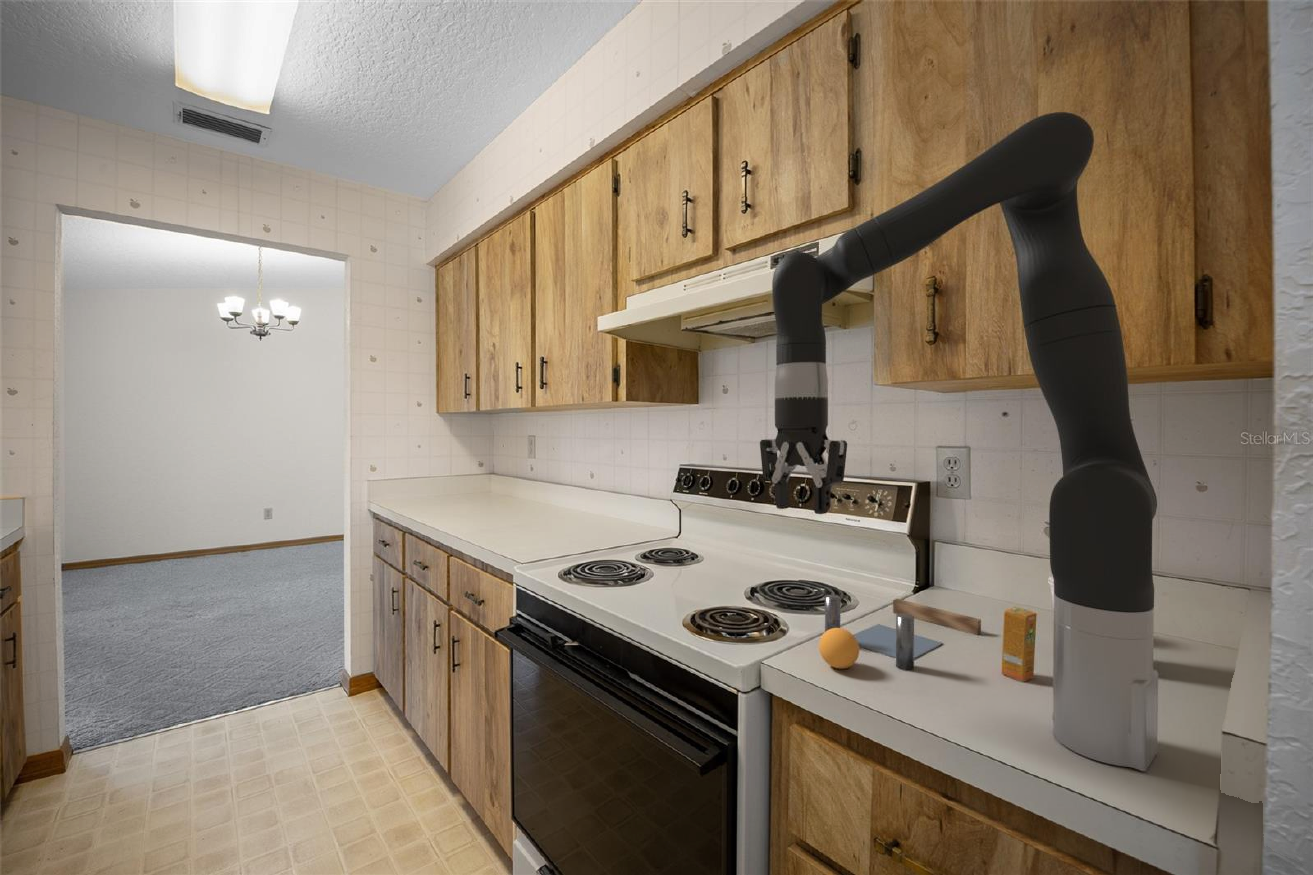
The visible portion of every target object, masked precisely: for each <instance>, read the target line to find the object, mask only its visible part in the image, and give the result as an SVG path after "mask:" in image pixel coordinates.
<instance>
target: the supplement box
mask: <svg viewBox="0 0 1313 875" xmlns="http://www.w3.org/2000/svg"><path fill="white" fill-rule="evenodd" d="M1037 615H1038V614H1037V613H1036V612H1034V611H1031V610H1028V609H1026V608H1021V607H1018V606H1013V607H1011V608H1007V609H1005V610H1004V612H1003V627H1002V628H1003V630H1002V646H1001V647H1002V651H1001V653H1002V654H1001V675H1003V676H1005V677H1008V678H1011V679H1013V680H1017V681H1019V682H1023V683H1024V682H1026V681H1028V680H1031V679H1033V678H1034V671H1035V670H1034V668H1035V651H1036V631H1037Z"/></svg>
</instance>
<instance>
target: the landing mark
mask: <svg viewBox="0 0 1313 875" xmlns="http://www.w3.org/2000/svg"><path fill="white" fill-rule="evenodd" d="M852 635H853V636H854V637H855V638H856V640H857V642H858V645H859V647H861V648H863V649H864V648H865V649H867V650H870V651H872V652H873V651H874V652H875V653H878V654H882V655H885V656H888V657H891V658H893V659H896V628H893V627H890V626H887V625H882V624H879V623H877V624H876V625H873V626H871V627H869V628H866V629H863V630H861V631H859V632H856V633H854V634H853V633H852ZM943 644H944V642H941V641H938V640H935V639H932V638H931V639H930V638H927V637H924V636H921V635H917V634H914V660H915V659H917V658H920V657H921V656H924V655H925V654H926V653H928V652H930V651H932V650H935V649H936V648H938V647H940V646H942V645H943Z"/></svg>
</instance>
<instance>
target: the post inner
mask: <svg viewBox="0 0 1313 875" xmlns="http://www.w3.org/2000/svg"><path fill="white" fill-rule="evenodd" d="M895 625H896V626H895V629H896V658H895V666H896V668H898V669H899V670H902V671H913V670H914V669H915V659H914V635H915V618H914V616H912V615H909V614H897V613H896V615H895Z"/></svg>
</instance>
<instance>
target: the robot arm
mask: <svg viewBox="0 0 1313 875" xmlns="http://www.w3.org/2000/svg"><path fill="white" fill-rule="evenodd" d="M1094 144H1095V138H1094V131H1093V129H1092V127H1091V126H1090V124H1089V123H1088V121H1087V120H1085V119H1084V118H1083V117H1082V116H1079V115H1077V114H1075V113H1072V112H1066V111H1058V112H1057V111H1056V112H1049V113H1045V114H1042V115H1040V116H1037V117H1035V118H1033V119H1031V120H1029V121H1027V122H1025V123H1024V124H1022V125H1020V126H1019V127H1018V128H1017V129H1015V130H1013V131H1012V132H1011V133H1009V134H1008V135H1007V136H1005V137H1004V138H1002V139H1001V140H1000V141H998V142H997V143H995V144H993V146H991V147H990V148H988V149H987V150H985V151H984V152H982V153H981V154H980V155H979V156H977V157H975V158H974V159H972V160H970V161H969V162H968V163H966V164H965V165H963V166H961V167H959V169H957V170H955V171H954V172H952V173H951V174H949V175H947V176H946V177H944V178H943V179H941V180H940V181H938V182H936V183H934V184H933V185H931V186H930V187H928V188H926V189H925V190H923V191H921V192H918V193H917V194H916V195H914V196H912V197H911V198H909V199H906V200H905V201H903V202H901V203H899V204H897V205H896V206H894V207H892V208H890V209H888V210H885V211H884V212H882V213H880V214H878V215H876V216H874V217H872V218H870V219H868V220H866V221H864V222H863V223H861V224H859V225H857V226H855V227H853V228H851V229H850V230H848V231H845V232H844V233H843V234H841V235H840V236H839V237H838V238H837V240H836V241H835V243H834V245H833V246H832V247H830V248H829V249H827V250H826V251H824V252H822V253H821V254H819V255H817V256H816V257H815V256H813V255H812V254H810V253H808V252H804V251H795V252H792V253H789V254H787V255H786V256H784V257H783V258H782V259H781V260H780V261H779V262H777V265H776V266H775V269H774V271H773V275H772V280H771V281H772V284H771V287H772V288H771V291H772V304H773V313H774V319H775V327H776V346H775V351H776V353H775V356H776V357H775V358H776V360H775V362H776V363H775V364H776V366H775V376H774V427H775V428H776V431H777V434H776V437H775V438H774V439H773V438H772V439H769V438H768V439H767V438H765V439H760V441H759V448H760V459H761V470H762V476H763V478H764V479H768V480H770V481H771V482H772V483H773V487H774V490H773V492H774V494H773V497H774V498H773V499H774V500H773V501H774V504H775V505H776V509H778V510H785V509H786V510H787V509H788V508H790V483H787V482H788V481H789V479H790V476H791V475H792V472H794V470H795V469H796V468H797V466H801V467H805V468H806V471H807V473H808V474H810V476H811V478H812V481H813V482H814V484H815V486H816V487H814V488H813V491H814V492H813V493H814V497H813V500H814V501H813V503H814V504H813V505H814V508H813V509H814V510H813V511H814V514H815V515H824V514H827V513H828V511H829V510H830V508H831V489H832V487H833V486H834V485H837V484H840V483H843V482H844V480H845V469H846V460H847V451H848V442H847V441H846V440H844V439H841V440H834V439H832V440H831V439H829V436H828V435H827V432H826V431H827V428H828V427H829V426H828V425H829V379H828V378H829V377H828V372H827V338H826V337H827V336H826V330H825V327H824V325H823V305H824V304H826V303H828V302H829V301H831V300H833V299H834V298H835V297H838V296H839V295H840V294H842V293H844V292H845V291H847V290H849V288H851V287H853V286H854V285H855V284H856V283H859V282H861V281H863V280H864V279H867V278H870V277H872V276H874V275H877V274H878V273H879V274H880V272H882V271H885V270H886V269H889V268H891V267H893V266H896V265H897V264H900V263H901V262H903V261H905V260H907V259H909V258H911V257H913V256H914V255H916V254H918V253H919V252H920V251H922V250H923V249H925V248H926V247H928V246H930V245H931V244H933V243H934V242H935V241H937V240H938V239H940V238H941V237H942V236H943V235H945V234H947V232H949V231H950V230H953V229H954V228H956V227H957V226H959V225H960V224H962V223H963V222H964V221H966V220H968V219H970V218H972V217H973V216H975V215H977V214H979V213H980V212H983V211H984V210H986V209H988V208H991V207H993V206H995V205H997V204H999V205H1000V209H1001V211H1002V215H1003V217H1004V220H1005V222H1006V226H1007V230H1008V233H1009V235H1010V238H1011V242H1012V245H1013V249H1014V253H1015V254H1014V255H1015V258H1016V268H1017V271H1016V272H1017V283H1018V292H1019V300H1020V306H1021V316H1022V324H1023V328H1024V335H1025V340H1026V346H1027V351H1028V355H1029V356H1028V357H1029V359H1030V363H1031V366H1032V370H1033V373H1034V375H1035V378H1036V380H1037V382H1038V385H1039V388H1040V390H1041V392H1042V395H1043V397H1044V400H1045V402H1046V403H1047V406H1048V407H1049V410H1050V413H1051V415H1052V417H1053V420H1054V423H1055V425H1056V429H1057V433H1058V438H1059V444H1060V445H1059V446H1060V452H1061V453H1060V454H1061V460H1062V461H1061V462H1062V463H1061V464H1062V476H1061V477H1060V479H1058V480H1057V482H1056V483H1055V484H1054V487H1053V489H1052V490H1051V491H1052V492H1051V495H1050V499H1049V508H1048V509H1049V511H1048V519H1049V520H1048V521H1049V523H1048V524H1049V527H1048V528H1049V565H1050V566H1049V567H1050V571H1051V576H1053V579H1054V608H1053V645H1052V646H1053V647H1052V648H1053V654H1052V656H1053V657H1052V658H1053V662H1052V663H1053V665H1052V666H1053V667H1052V669H1053V670H1052V672H1053V674H1052V680H1053V681H1052V682H1053V683H1052V731H1053V735H1054V738H1056V740H1057V741H1058V742H1059V743H1060V744H1062V745H1063V746H1064V747H1066V748H1068V749H1069V750H1071V751H1073V752H1074V753H1076V754H1078V755H1081V756H1084V757H1086V758H1089V759H1091V760H1094V761H1096V762H1097V761H1098V762H1101V763H1105V764H1109V765H1113V766H1119V767H1127V768H1131V769H1136V770H1139V771H1141V772H1146V771H1147V769H1148V767H1149V766H1150V764H1151V763H1152V761H1153V760H1154V758H1155V757H1156V755H1157V753H1158V727H1159V726H1158V722H1159V721H1158V719H1159V716H1158V715H1159V713H1158V712H1159V673H1158V671H1157V670H1156V669H1154V628H1155V625H1154V621H1155V620H1154V618H1155V611H1154V610H1155V608H1154V607H1155V585H1154V584H1155V583H1154V578H1153V577H1154V576H1153V520H1154V518H1155V515H1156V514H1157V510H1158V500H1157V499H1158V498H1157V494H1156V492H1155V488H1154V486H1153V484H1152V481H1151V479H1150V476H1149V473H1148V470H1147V469H1146V468H1147V467H1146V465H1145V463H1144V460H1143V456H1142V454H1141V451H1140V447H1139V444H1138V441H1137V439H1136V437H1137V436H1136V434H1135V430H1134V428H1133V424H1132V423H1133V422H1132V419H1131V412H1130V400H1129V398H1130V397H1129V383H1128V382H1129V381H1128V380H1129V379H1128V373H1127V371H1128V370H1127V362H1126V355H1125V350H1124V341H1123V335H1122V329H1121V325H1120V320H1119V315H1118V310H1117V309H1118V308H1117V304H1116V300H1115V298H1114V294H1113V291H1112V288H1111V286H1110V284H1109V282H1108V279H1107V278H1106V276H1105V275H1104V273H1103V271H1102V269H1101V268H1100V266H1099V264H1098V263H1097V262H1096V260H1095V258H1094V257H1093V255H1092V254H1091V252H1090V250H1089V249H1088V248H1089V247H1088V246H1087V244H1086V242H1085V239H1084V236H1083V232H1082V227H1081V222H1080V221H1081V220H1080V212H1079V206H1078V205H1079V204H1078V203H1079V202H1078V182H1079V181H1080V180H1079V179H1081V178H1080V177H1081V176H1082V175H1083V173H1084V170H1085V168H1086V167H1087V165H1088V163H1089V161H1090V158H1091V155H1092V154H1093V149H1094ZM778 451H779V455H778ZM825 451H826V452H825ZM824 453H826V454H827V455H828V456H827V460H826V458H825V456H824Z"/></svg>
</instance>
